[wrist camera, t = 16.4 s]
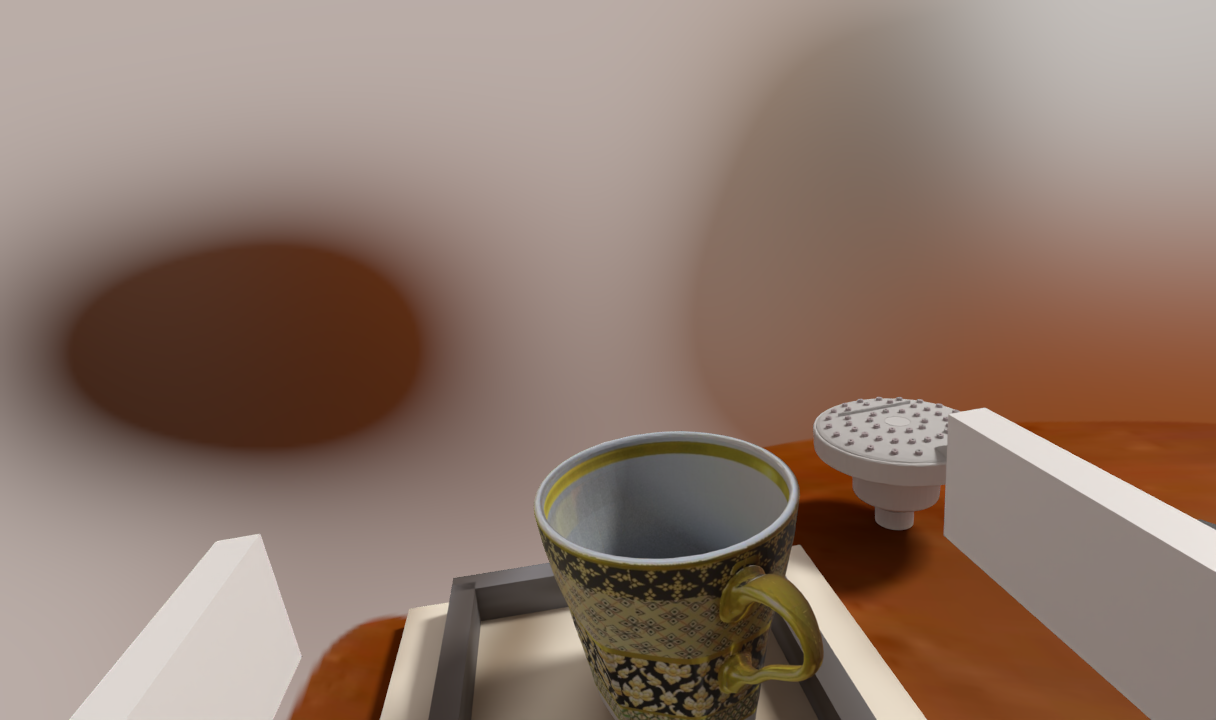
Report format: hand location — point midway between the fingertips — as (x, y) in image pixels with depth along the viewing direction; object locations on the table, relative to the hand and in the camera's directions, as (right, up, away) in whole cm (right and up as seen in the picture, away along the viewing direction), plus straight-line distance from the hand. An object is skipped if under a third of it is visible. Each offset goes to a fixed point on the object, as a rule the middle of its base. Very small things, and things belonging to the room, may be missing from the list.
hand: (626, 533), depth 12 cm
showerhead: (+17, -7, +27) cm, 33 cm away
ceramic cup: (+3, -11, +14) cm, 18 cm away
